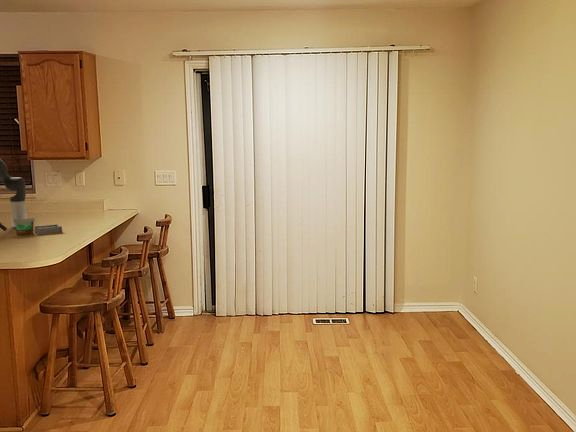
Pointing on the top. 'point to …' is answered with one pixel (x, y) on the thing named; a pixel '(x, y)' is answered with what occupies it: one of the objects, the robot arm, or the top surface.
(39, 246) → the top surface
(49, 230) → the dock
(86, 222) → the top surface
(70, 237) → the top surface
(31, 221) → the food container
